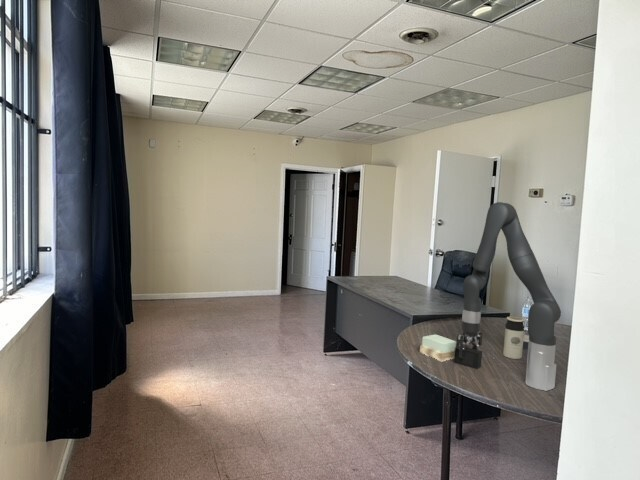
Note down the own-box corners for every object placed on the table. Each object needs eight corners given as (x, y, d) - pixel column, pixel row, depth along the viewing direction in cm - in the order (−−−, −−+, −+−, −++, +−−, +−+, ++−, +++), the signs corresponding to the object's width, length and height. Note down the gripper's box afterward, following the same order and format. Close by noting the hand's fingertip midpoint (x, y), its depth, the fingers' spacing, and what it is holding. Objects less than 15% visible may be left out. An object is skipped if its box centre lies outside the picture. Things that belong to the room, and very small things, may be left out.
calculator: (533, 335, 220) (531, 341, 207) (533, 343, 220) (530, 349, 207) (510, 331, 226) (506, 336, 213) (510, 339, 226) (506, 345, 213)
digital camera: (482, 366, 181) (483, 350, 181) (477, 369, 177) (478, 353, 177) (459, 359, 188) (460, 344, 188) (454, 362, 184) (455, 347, 184)
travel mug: (503, 352, 201) (506, 315, 200) (522, 355, 197) (525, 318, 196) (502, 357, 194) (505, 319, 193) (521, 360, 190) (524, 321, 189)
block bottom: (457, 358, 190) (458, 350, 190) (441, 362, 185) (442, 354, 184) (435, 350, 201) (436, 342, 201) (419, 353, 195) (420, 345, 195)
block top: (455, 350, 190) (456, 341, 190) (442, 353, 185) (443, 344, 185) (435, 342, 200) (435, 334, 200) (422, 345, 195) (422, 336, 195)
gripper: (467, 324, 175) (464, 362, 176) (488, 320, 182) (485, 357, 184) (453, 319, 181) (450, 356, 182) (474, 316, 189) (471, 351, 190)
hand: (467, 356), depth 183 cm, fingers open, 8 cm apart
